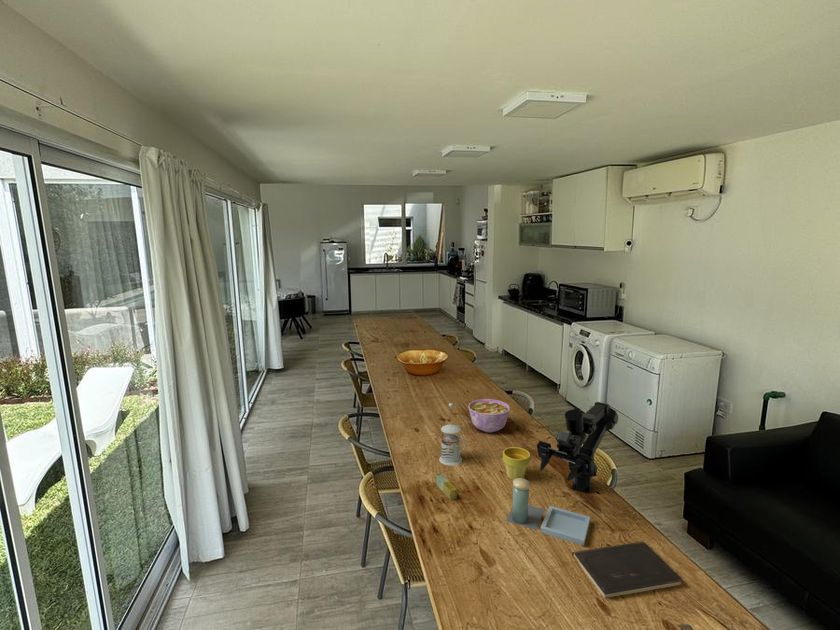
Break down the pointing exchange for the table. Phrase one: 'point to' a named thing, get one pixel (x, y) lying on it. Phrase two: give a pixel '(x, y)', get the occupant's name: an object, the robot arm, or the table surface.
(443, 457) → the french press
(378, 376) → the table surface
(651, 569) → the hardcover book
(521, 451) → the plant pot
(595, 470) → the robot arm
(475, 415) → the bowl of food
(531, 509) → the mat
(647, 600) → the table surface
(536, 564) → the table surface
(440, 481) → the medication box
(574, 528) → the dish
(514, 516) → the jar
